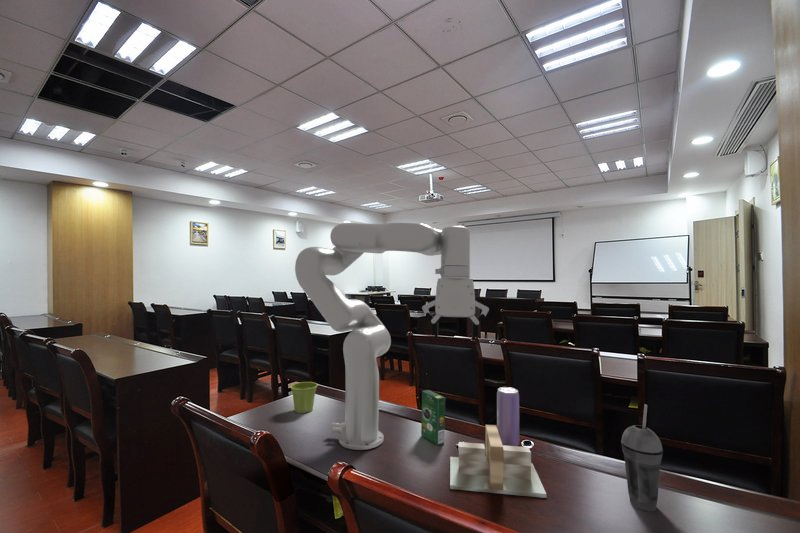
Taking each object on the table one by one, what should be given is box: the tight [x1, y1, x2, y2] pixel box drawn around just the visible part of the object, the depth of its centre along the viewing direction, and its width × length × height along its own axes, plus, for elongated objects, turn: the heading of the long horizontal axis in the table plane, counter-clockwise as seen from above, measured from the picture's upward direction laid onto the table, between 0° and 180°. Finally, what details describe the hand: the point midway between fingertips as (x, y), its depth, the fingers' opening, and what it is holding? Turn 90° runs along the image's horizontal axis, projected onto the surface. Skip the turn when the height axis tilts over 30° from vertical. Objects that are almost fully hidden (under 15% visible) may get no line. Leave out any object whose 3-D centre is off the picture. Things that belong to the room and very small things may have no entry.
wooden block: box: [484, 424, 503, 491], centre depth 82 cm, size 12×3×9 cm, turn 172°
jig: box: [449, 441, 548, 499], centre depth 82 cm, size 20×13×7 cm, turn 82°
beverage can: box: [496, 386, 520, 446], centre depth 100 cm, size 6×6×15 cm
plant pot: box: [289, 381, 319, 414], centre depth 124 cm, size 9×9×9 cm
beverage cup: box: [620, 403, 664, 512], centre depth 73 cm, size 7×7×20 cm
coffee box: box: [420, 389, 446, 446], centre depth 102 cm, size 8×3×13 cm, turn 32°
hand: (454, 339), depth 92 cm, fingers open, 9 cm apart
